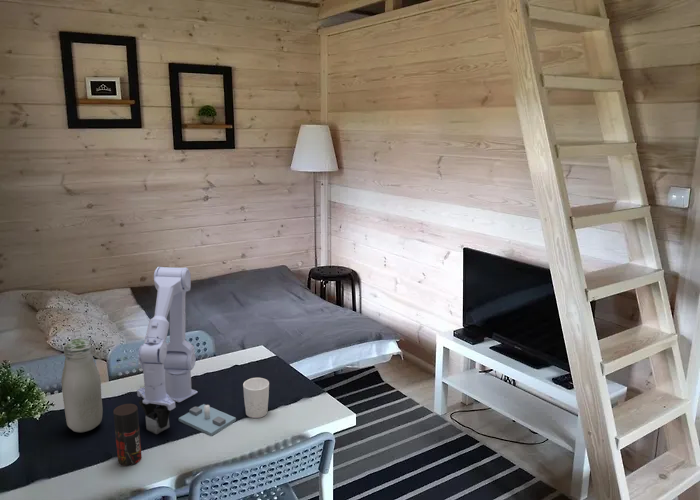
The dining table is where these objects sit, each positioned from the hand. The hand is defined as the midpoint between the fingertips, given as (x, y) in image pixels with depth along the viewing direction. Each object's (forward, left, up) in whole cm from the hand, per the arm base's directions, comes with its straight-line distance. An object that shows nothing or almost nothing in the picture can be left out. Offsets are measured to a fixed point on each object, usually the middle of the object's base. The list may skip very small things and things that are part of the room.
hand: (157, 423), depth 163 cm
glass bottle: (-17, -12, -2) cm, 21 cm away
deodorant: (+6, -14, -2) cm, 15 cm away
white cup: (+18, +23, -2) cm, 29 cm away
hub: (0, 0, -1) cm, 1 cm away
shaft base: (+9, +11, -1) cm, 14 cm away
